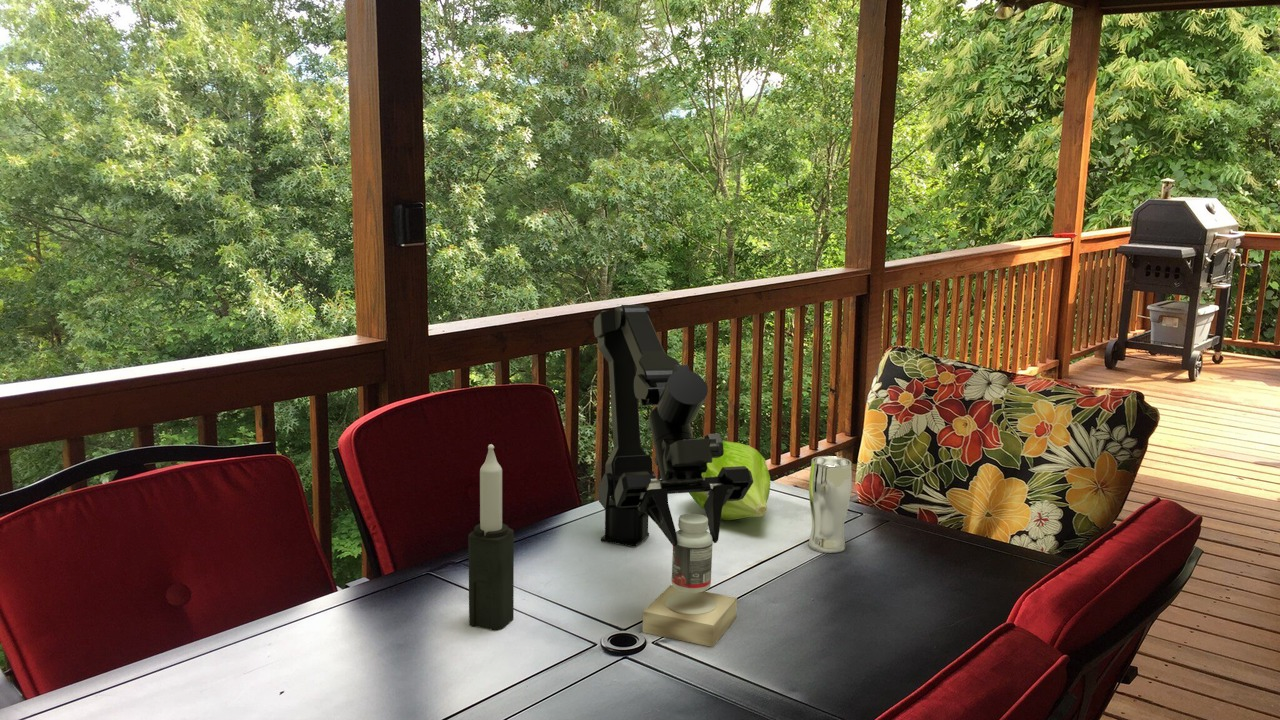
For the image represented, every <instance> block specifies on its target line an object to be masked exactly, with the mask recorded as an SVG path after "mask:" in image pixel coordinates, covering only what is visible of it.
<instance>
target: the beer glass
mask: <svg viewBox="0 0 1280 720" xmlns="http://www.w3.org/2000/svg"><path fill="white" fill-rule="evenodd" d="M852 464H853V463H852V461H851V460H850V459H848V458H844V457H841V456H833V455H821V456H820V455H819V456H816V457H813V458H811V466H810V471H809V472H810V473H809V481H808V495H809V496H808V497H809V505H810V507H809V508H810V514H811V531H810V536H809V539H808V547H809V548H810V549H811V550H813V551H816V552H819V553H825V554H837V553H838V554H839V553H841V552H843V551H845V549H846V543H845V535H844V534H845V533H844V528H845V520H846V518H847V517H846V516H847V513H848V509H849V504H850V500H851V494H852V480H853V479H852V478H853V477H852Z"/></svg>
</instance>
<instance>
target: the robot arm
mask: <svg viewBox="0 0 1280 720" xmlns="http://www.w3.org/2000/svg"><path fill="white" fill-rule="evenodd" d="M593 333H594V334H593V335H594V337H595V338H597V339H596V340H597V347H598V350H599V351H600V353H601V355H602V356H603V357H604V359H605V361H606V362H607V363H608V374H609V375H608V376H609V377H608V378H609V388H610V390H609V391H610V407H611V408H610V409H611V424H612V441H613V443H612V444H613V449H612V451H611V453H610V455H609V457H608V459H607V460H606V462H605V465H604V466H605V472H604V473H603V476H602V478H601V481H600V484H599V487H598V490H597V493H598V494H597V495H598V502H599V504H600V505H601V506H602V507H603V509H604V515H605V516H604V535H602V536H601V537H600V542H604V543H609V544H610V543H611V544H616V545H622V546H627V547H637V546H638V545H639V544H640V543H642V542H643V541H644V540H646V539H647V538H648V537H650V533H649V518H650V519H651V520H652V521H653V522H654V523H655V524H656V526H657V527H658V528H659V529H660V530H661V532H662V533H663V535H664V536H665V537H666V538H667V540H668V541H669V542H670V544H671V545H672V547H673V546H676V545H677V543H678V542H677V535H676V532H677V531H676V526H675V524H674V520H673V516H672V512H671V509H670V506H669V497H668V496H669V495H671V494H674V495H675V494H689V493H690V492H706V495H707V500H706V502H705V504H704V513H705V516H706V517H707V518H708V530H709V531H708V532H709V533H710V534H711V536H712V539H713V543H714V544H717V543H718V542H719V537H720V529H721V528H720V527H721V520H722V519H721V512H722V507H723V506H724V505H725V504H726V502H727V501H738V500H741V499H743V498H744V496H745V495H746V493H747V491H748V490H749V488H750V487H751V485H752V484H753V478H752V474H751V471H750V470H749V469H748V468H747V467H745V466H736V467H722V469H721V471H720V472H719V474H718V476H717V477H705V478H702V473H705V472H706V471H707V469H708V468H707V463H712V462H713V461H712V458H719V457H721V456H723V454H724V448H723V442H722V441H723V438H722V435H721V433H708V434H706V435H704V438H697V437H694V435H693V430H692V425H691V423H693V421H695V420H696V419H697V416H698V414H699V412H700V410H701V408H702V405H704V402H705V400H706V397H707V396H708V392H709V388H708V384H707V382H706V381H705V380H704V378H703V377H701V375H699V374H697V373H696V372H694V371H691V370H690V366H689V364H680V362H679V361H678V360H677V359H676V358H674V357H672V356H670V355H668V354H667V353H666V352H665V350H664V348H663V345H662V343H661V340H660V339H659V336H658V334H657V332H656V330H655V327H654V325H653V323H652V321H651V312H650V308H649V306H648V305H646V306H645V305H644V304H621V305H620V306H616V307H615V308H612V309H610V310H601V312H600V313H599V314H597V315H596V316H595V317H594V320H593ZM639 403H640V404H641V406H644V407H647V406H648V407H649V406H656V407H654V408H653V409H652V410H651V412H650V413H649V415H648V421H649V423H648V424H649V425H648V430H649V431H650V432H651V435H652V436H651V437H652V441H653V445H654V451H655V455H656V456H655V458H654V462H655V466H658V471H659V476H660V478H658V477H657V478H656V474H655V471H654V470H653V459H652V457H651V456H650V454H647V453H646V451H645V450H644V449H643V446H642V444H641V443H642V442H641V430H640V429H641V428H640V413H639Z"/></svg>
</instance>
